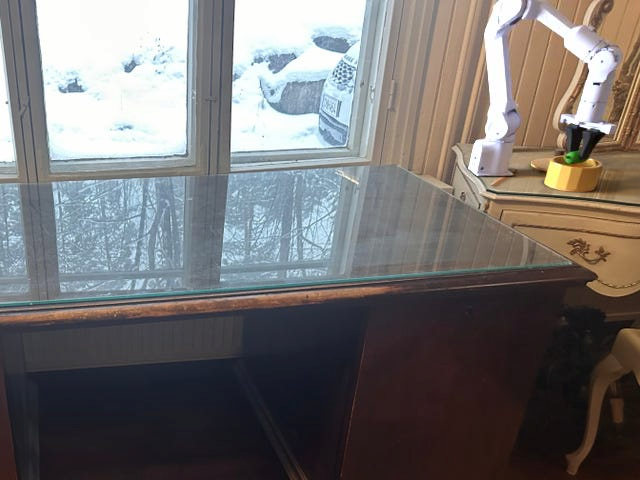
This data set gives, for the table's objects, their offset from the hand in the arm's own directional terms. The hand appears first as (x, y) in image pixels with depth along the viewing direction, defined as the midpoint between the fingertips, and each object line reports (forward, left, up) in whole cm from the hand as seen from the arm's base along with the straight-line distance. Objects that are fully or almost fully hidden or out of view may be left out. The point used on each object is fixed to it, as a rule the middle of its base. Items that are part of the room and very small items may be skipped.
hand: (577, 157), depth 171 cm
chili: (0, 0, -1) cm, 1 cm away
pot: (0, 0, -7) cm, 7 cm away
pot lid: (+3, +15, -6) cm, 17 cm away
